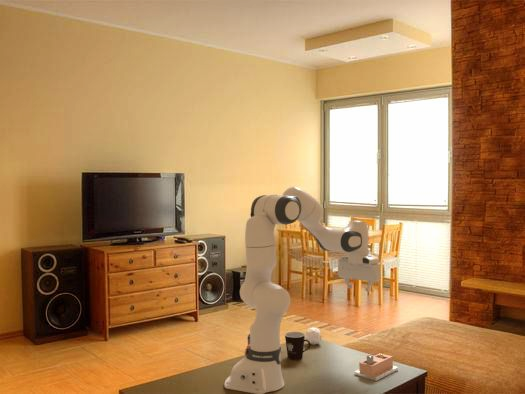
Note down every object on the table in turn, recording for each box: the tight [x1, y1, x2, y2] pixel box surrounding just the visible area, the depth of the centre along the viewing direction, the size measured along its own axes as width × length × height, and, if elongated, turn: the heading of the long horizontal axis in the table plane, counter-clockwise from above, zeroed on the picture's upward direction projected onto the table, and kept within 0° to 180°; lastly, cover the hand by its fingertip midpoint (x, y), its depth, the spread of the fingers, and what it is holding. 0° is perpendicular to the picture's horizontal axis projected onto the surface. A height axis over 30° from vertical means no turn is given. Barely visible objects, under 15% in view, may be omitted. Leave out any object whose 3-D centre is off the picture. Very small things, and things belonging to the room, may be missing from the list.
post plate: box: [353, 353, 399, 382], centre depth 212 cm, size 16×10×8 cm, turn 136°
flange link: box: [358, 353, 394, 376], centre depth 212 cm, size 15×6×4 cm, turn 136°
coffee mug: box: [284, 331, 311, 361], centre depth 230 cm, size 12×9×10 cm
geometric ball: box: [304, 327, 323, 346], centre depth 250 cm, size 8×8×8 cm
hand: (358, 289), depth 231 cm, fingers open, 8 cm apart
